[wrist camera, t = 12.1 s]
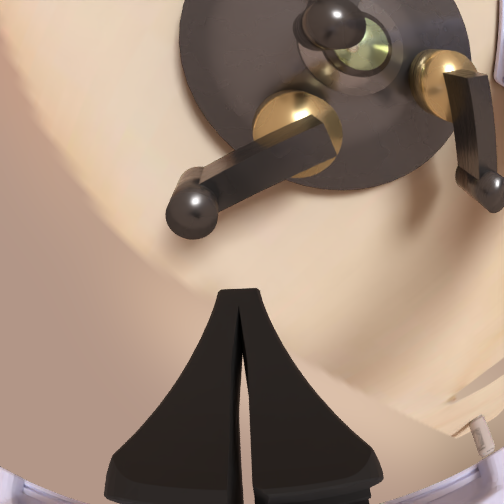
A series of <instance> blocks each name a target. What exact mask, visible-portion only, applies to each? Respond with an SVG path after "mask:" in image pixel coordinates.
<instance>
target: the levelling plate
mask: <svg viewBox="0 0 504 504" xmlns="http://www.w3.org/2000/svg"><path fill="white" fill-rule="evenodd" d="M307 3H308V0H185V2H184V5H183V10H182V15H181V20H180V33H179V45H180V53H181V61H182V66H183V69H184V73H185V76H186V80H187V83H188V85H189V88H190V90H191V92H192V94H193V96H194V99H195V101H196V103H197V104H198V106H199V108H200V109H201V111H202V112H203V114H204V116H205V117H206V119H207V120H208V121H209V123H210V124H211V125H212V126H213V128H214V129H215V130H216V131H217V133H218V134H219V135H220V136H221V137H222V138H223V139H224V140H225V141H226V142H227V143H228V144H229V145H230V146H231V147H232V148H233V149H234V150H237V149H239V148H241V147H243V146H245V145H247V144H249V143H251V142H253V141H254V139H253V133H252V122H253V117H254V114H255V112H256V110H257V108H258V107H259V105H260V104H261V103H262V102H263V101H264V100H265V99H266V98H268V97H269V96H270V95H272V94H274V93H276V92H279V91H283V90H290V89H291V90H301V91H305V92H307V93H310V94H312V95H314V96H317V97H319V98H321V99H322V100H324V101H325V102H327V103H328V104H329V105H330V106H331V107H332V108H333V109H334V110H335V112H336V113H337V115H338V117H339V119H340V122H341V125H342V132H343V138H342V144H341V148H340V151H339V153H338V155H337V157H336V158H335V159H334V161H333V162H332V163H331V164H330V165H329V166H328V167H327V168H326V169H324V170H323V171H321V172H319V173H317V174H315V175H313V176H309V177H304V178H291V177H290V178H288V179H286V180H288V181H291V182H294V183H298V184H301V185H304V186H309V187H315V188H320V189H330V190H354V189H363V188H369V187H374V186H378V185H381V184H385V183H388V182H391V181H393V180H396V179H398V178H400V177H402V176H405V175H407V174H408V173H410V172H412V171H413V170H415V169H417V168H418V167H420V166H421V165H422V164H424V163H425V162H426V161H427V160H429V159H430V158H431V157H432V156H433V155H434V154H435V153H436V152H437V151H438V150H439V149H440V148H441V147H442V146H443V145H444V143H445V142H446V141H447V139H448V138H449V137H450V135H451V134H452V132H453V131H454V127H453V123H451V122H448V121H446V120H443V119H441V118H439V117H436V116H434V115H432V114H429V113H427V112H426V111H424V110H423V109H422V108H420V106H419V105H418V104H417V103H416V101H415V100H414V98H413V96H412V94H411V91H410V87H409V80H408V75H409V69H410V65H411V63H412V61H413V59H414V58H415V56H416V55H417V54H419V53H420V52H421V51H424V50H427V49H439V50H451V51H456V52H459V53H461V54H463V55H465V56H466V57H467V58H468V59H469V60H470V61H471V53H470V45H469V40H468V36H467V32H466V28H465V25H464V22H463V19H462V17H461V14H460V12H459V9H458V7H457V5H456V4H455V2H454V0H360V2H359V5H358V8H359V9H360V10H361V12H362V13H363V15H364V17H365V21H366V33H365V36H364V38H363V39H362V41H361V42H360V43H359V44H357V45H356V46H354V47H351V48H348V49H338V50H328V51H312V50H309V49H307V48H305V47H303V46H302V45H301V44H300V43H299V42H298V41H297V40H296V38H295V36H294V34H293V23H294V20H295V18H296V17H297V16H298V15H299V14H300V13H301V12H303V11H304V10H305V9H306V6H307Z"/></svg>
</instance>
